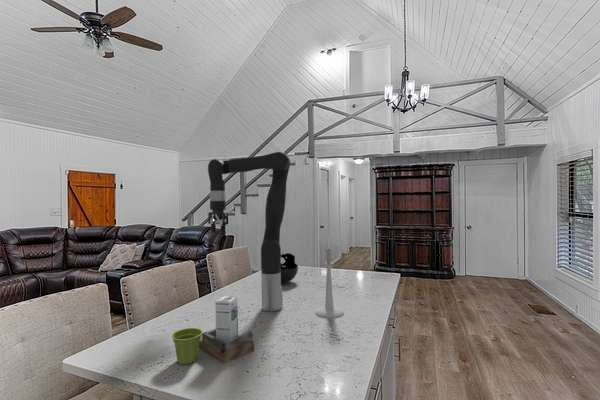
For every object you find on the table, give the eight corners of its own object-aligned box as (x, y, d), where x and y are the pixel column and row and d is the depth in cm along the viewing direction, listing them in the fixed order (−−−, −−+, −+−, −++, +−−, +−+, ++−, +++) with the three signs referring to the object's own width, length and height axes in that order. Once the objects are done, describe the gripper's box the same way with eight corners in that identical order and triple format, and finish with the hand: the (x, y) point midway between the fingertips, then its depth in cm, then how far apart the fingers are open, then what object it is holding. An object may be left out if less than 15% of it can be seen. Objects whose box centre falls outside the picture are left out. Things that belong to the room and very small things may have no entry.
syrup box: (231, 345, 106) (231, 301, 106) (215, 343, 107) (214, 300, 107) (238, 337, 111) (238, 296, 111) (223, 336, 113) (222, 295, 113)
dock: (221, 334, 122) (221, 318, 122) (254, 350, 108) (253, 332, 109) (192, 344, 113) (192, 328, 113) (224, 363, 100) (223, 344, 100)
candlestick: (347, 310, 147) (346, 246, 148) (338, 319, 136) (337, 250, 136) (321, 307, 153) (320, 244, 153) (311, 315, 141) (310, 248, 141)
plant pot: (176, 354, 107) (176, 328, 107) (205, 352, 107) (205, 327, 107) (167, 368, 97) (167, 340, 97) (198, 366, 98) (198, 338, 98)
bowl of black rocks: (297, 286, 190) (297, 255, 190) (264, 287, 190) (264, 255, 190) (298, 278, 210) (298, 250, 210) (268, 279, 210) (268, 250, 210)
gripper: (232, 200, 154) (232, 233, 154) (216, 200, 164) (216, 231, 164) (219, 200, 149) (219, 234, 148) (203, 200, 158) (203, 232, 158)
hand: (218, 232), depth 156 cm, fingers open, 8 cm apart
